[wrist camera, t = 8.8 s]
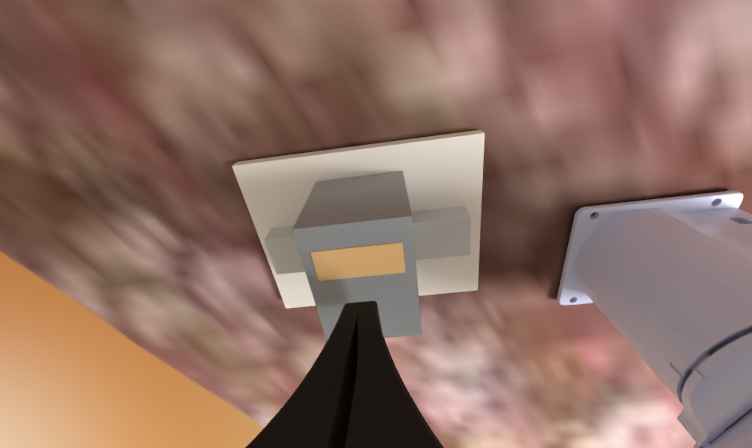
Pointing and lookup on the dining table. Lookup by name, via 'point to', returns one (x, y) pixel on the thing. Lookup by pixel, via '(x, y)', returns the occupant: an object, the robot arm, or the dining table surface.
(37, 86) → the dining table surface
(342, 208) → the module
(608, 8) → the dining table surface
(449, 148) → the rail board
